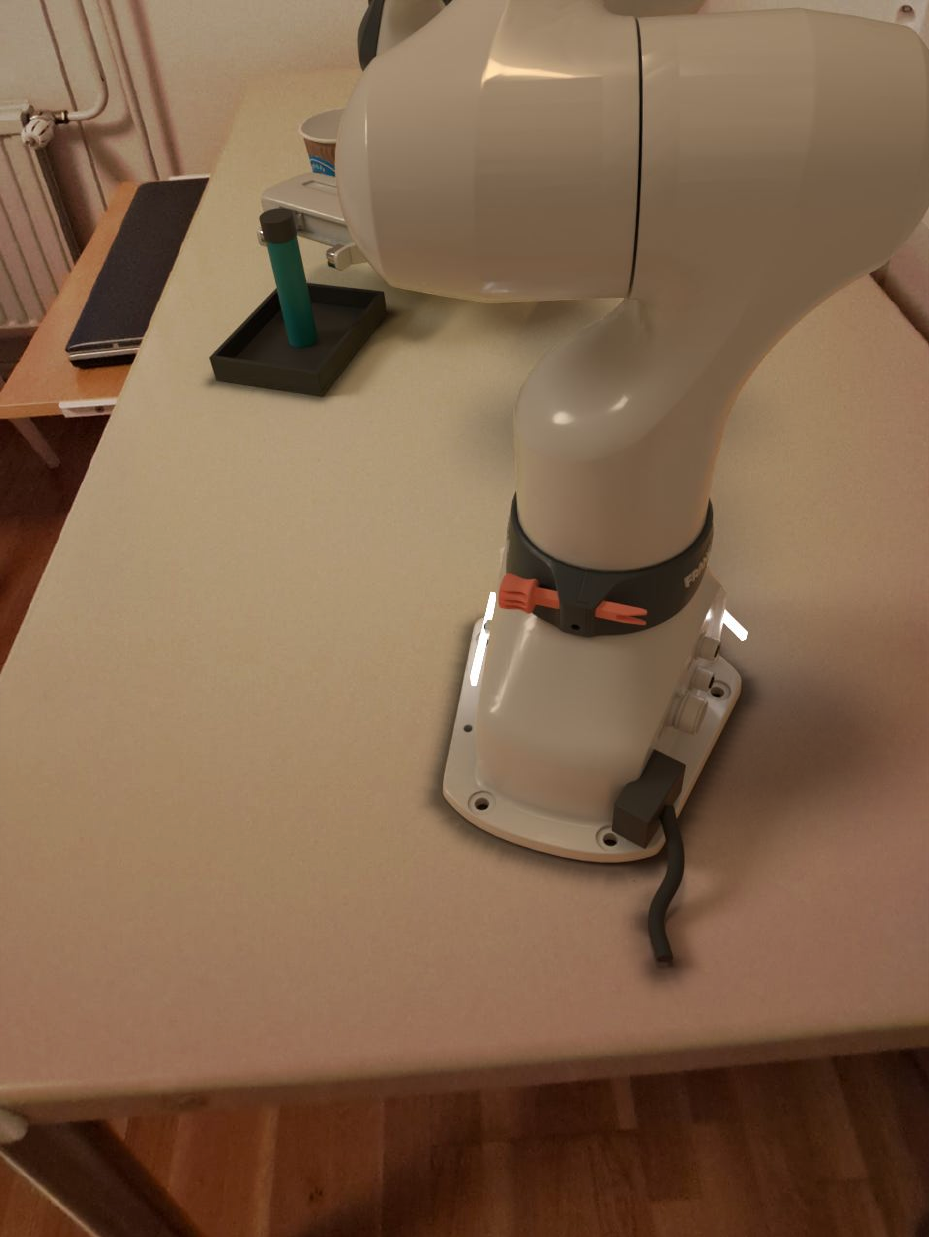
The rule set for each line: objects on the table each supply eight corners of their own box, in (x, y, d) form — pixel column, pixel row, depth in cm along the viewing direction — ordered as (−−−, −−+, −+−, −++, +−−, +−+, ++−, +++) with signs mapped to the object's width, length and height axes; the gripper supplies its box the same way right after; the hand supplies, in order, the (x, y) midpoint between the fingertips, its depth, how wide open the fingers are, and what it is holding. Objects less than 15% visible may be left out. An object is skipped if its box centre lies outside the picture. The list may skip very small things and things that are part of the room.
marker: (310, 350, 95) (283, 224, 86) (282, 346, 96) (252, 221, 87) (324, 334, 97) (299, 209, 88) (296, 330, 98) (269, 206, 89)
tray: (322, 396, 91) (317, 373, 89) (215, 380, 94) (208, 357, 92) (387, 313, 101) (384, 291, 99) (288, 301, 104) (283, 279, 102)
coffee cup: (301, 230, 116) (280, 127, 107) (363, 200, 121) (348, 99, 112) (354, 253, 111) (337, 147, 102) (418, 221, 115) (406, 117, 107)
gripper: (310, 147, 101) (215, 196, 94) (461, 183, 92) (369, 241, 84) (321, 205, 105) (231, 257, 98) (466, 246, 96) (379, 306, 89)
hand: (296, 250), depth 91 cm, fingers open, 8 cm apart
